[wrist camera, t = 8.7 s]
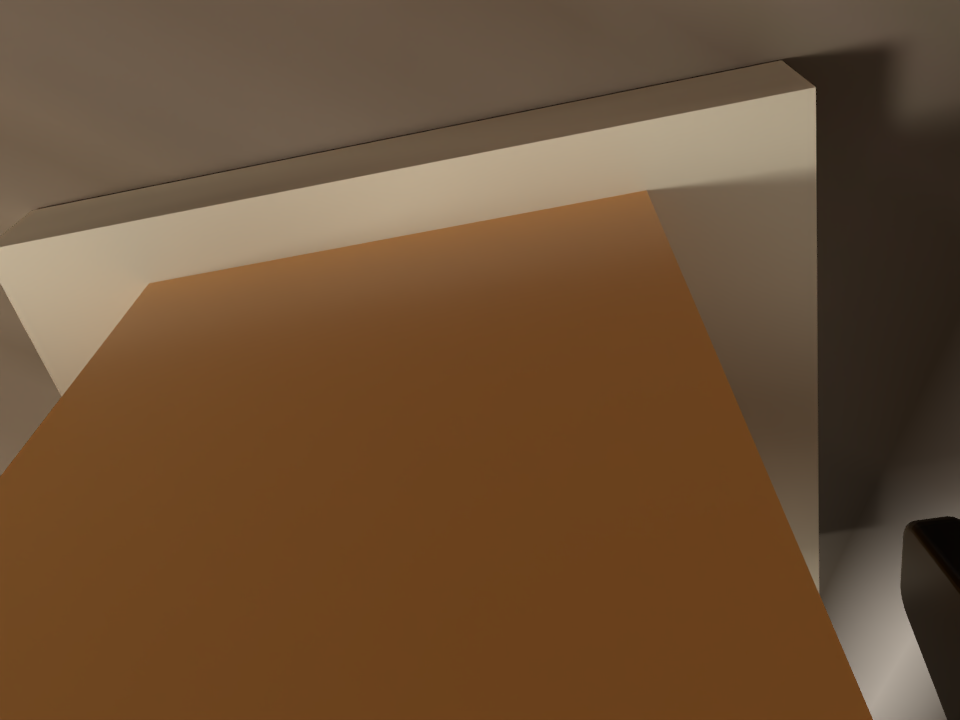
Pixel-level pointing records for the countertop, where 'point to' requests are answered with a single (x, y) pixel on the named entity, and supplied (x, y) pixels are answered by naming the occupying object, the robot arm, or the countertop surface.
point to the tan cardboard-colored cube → (413, 498)
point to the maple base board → (494, 194)
